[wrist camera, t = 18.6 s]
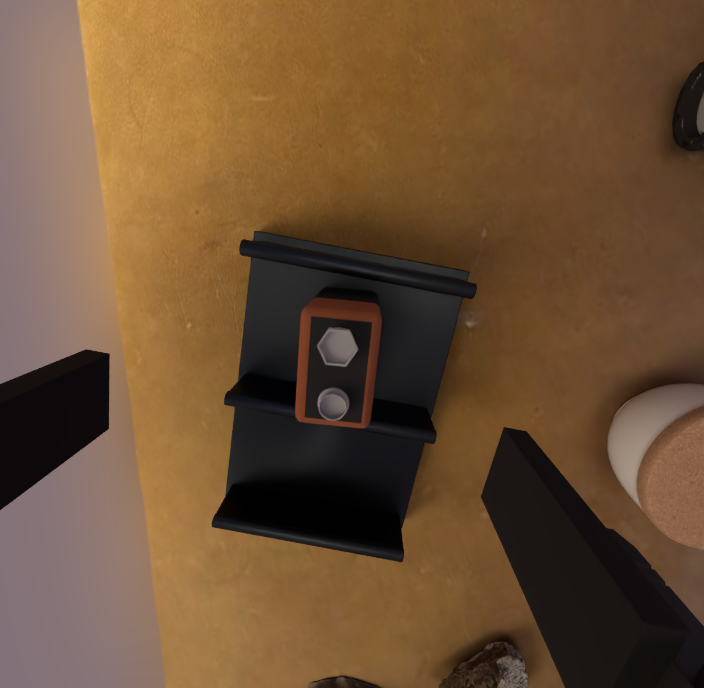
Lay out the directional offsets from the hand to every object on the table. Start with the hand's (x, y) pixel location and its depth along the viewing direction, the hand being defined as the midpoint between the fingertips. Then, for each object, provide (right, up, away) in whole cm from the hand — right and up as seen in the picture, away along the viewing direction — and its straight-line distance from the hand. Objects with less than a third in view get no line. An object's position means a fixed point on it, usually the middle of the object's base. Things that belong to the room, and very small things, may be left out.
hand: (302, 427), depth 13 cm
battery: (+1, +4, +17) cm, 17 cm away
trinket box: (+26, -4, +19) cm, 33 cm away
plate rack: (0, -1, +19) cm, 19 cm away
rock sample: (+16, -30, +27) cm, 43 cm away
